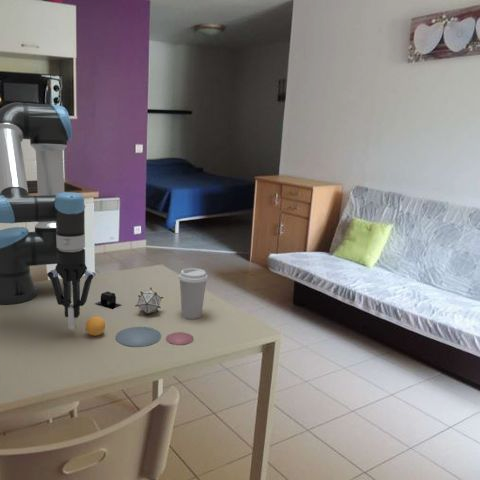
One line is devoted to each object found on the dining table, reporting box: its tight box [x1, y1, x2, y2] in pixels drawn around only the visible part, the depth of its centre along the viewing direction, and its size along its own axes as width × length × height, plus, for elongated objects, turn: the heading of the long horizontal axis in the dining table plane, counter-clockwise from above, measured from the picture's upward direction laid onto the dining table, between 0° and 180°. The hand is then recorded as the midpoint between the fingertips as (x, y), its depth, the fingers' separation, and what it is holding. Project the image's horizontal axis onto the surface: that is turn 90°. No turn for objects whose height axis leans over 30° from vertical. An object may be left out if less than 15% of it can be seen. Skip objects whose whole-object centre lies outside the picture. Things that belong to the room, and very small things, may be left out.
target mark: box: [115, 326, 162, 348], centre depth 139 cm, size 13×13×1 cm
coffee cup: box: [177, 267, 209, 320], centre depth 155 cm, size 10×10×15 cm
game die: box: [134, 286, 164, 317], centre depth 156 cm, size 9×8×10 cm
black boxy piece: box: [94, 291, 122, 310], centre depth 161 cm, size 12×7×5 cm, turn 62°
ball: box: [85, 316, 106, 337], centre depth 138 cm, size 6×6×6 cm
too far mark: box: [165, 331, 194, 346], centre depth 140 cm, size 8×8×1 cm
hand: (72, 327), depth 138 cm, fingers closed
